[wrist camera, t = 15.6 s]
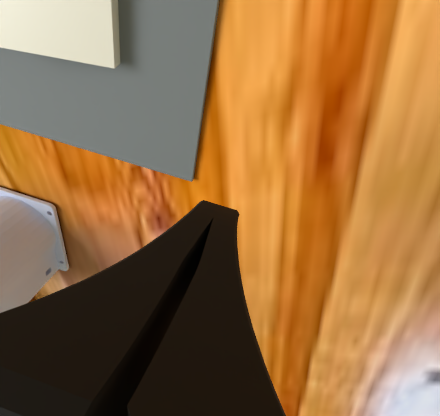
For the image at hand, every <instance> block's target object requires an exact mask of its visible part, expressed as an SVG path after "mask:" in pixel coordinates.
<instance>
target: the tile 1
mask: <svg viewBox="0 0 440 416" xmlns="http://www.w3.org/2000/svg"><path fill="white" fill-rule="evenodd" d="M0 48H6V49H11V50H17V51H22V52H27V53H33V54H38V55H44V56H49V57H55V58H60V59H65V60H71V61H76V62H82V63H87V64H92V65H98V66H103V67H109V68H114V69H115V68H116V67H117V66H118V65H119V64H120V42H119V15H118V0H0Z"/></svg>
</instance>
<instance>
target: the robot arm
mask: <svg viewBox="0 0 440 416" xmlns="http://www.w3.org/2000/svg"><path fill="white" fill-rule="evenodd" d="M238 217H239V213H238V211H237V210H234V209H231V208H227V207H224V206H221V205H217V204H214V203H211V202H208V201H204V200H203V201H201V202H199V203H198V204H197V205H196V206H195V207H194V208H193V209H192V210H191V211H190V212H189V213H188V214H187V215H185V216H184V217H183V218H182V219H181V220H180V221H178V222H177V223H176V224H175V225H173V226H172V227H171V228H169V229H168V230H167V231H166V232H164V233H163V234H162V235H160V236H159V237H157V238H156V239H154V240H153V241H152V242H150V243H149V244H147V245H146V246H144V247H143V248H141V249H140V250H138V251H137V252H135V253H133V254H132V255H130V256H128V257H127V258H125V259H123V260H121V261H120V262H118V263H116V264H114V265H112V266H111V267H109V268H107V269H105V270H103V271H101V272H99V273H97V274H95V275H93V276H91V277H89V278H87V279H85V280H83V281H80V282H78V283H76V284H74V285H71V286H69V287H66V288H64V289H62V290H59V291H57V292H55V293H52V294H50V295H48V296H45V297H43V298H40V299H38V300H35V301H32V302H30V303H28V302H29V301H30V300H31V299H32V298H33V297H34V296H35V295H36V293H37V292H38V291H39V290H40V289H41V288H42V287H43V286H44V285H45V284H46V283H47V282H48V280H49V279H50V278H51V277H52V276H53V275H54V274H55V273H56V272H57V271H58V270H59V269H60V270H63V271H67V270H68V269H69V264H68V260H67V255H66V251H65V247H64V242H63V238H62V233H61V229H60V224H59V220H58V215H57V211H56V207H55V206H54V205H53V204H51V203H48V202H45V201H42V200H39V199H36V198H33V197H30V196H27V195H24V194H20V193H17V192H14V191H11V190H8V189H5V188H2V187H0V416H286V415H285V413H284V410H283V408H282V406H281V403H280V401H279V399H278V396H277V394H276V391H275V389H274V386H273V384H272V381H271V379H270V376H269V373H268V371H267V368H266V366H265V363H264V360H263V357H262V354H261V351H260V348H259V345H258V342H257V339H256V336H255V333H254V330H253V327H252V323H251V319H250V316H249V312H248V308H247V304H246V300H245V296H244V291H243V286H242V280H241V274H240V268H239V260H238V248H237V222H238Z"/></svg>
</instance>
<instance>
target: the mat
mask: <svg viewBox="0 0 440 416" xmlns="http://www.w3.org/2000/svg"><path fill="white" fill-rule="evenodd" d="M219 2H220V0H118V15H119V42H120V64H119V65H118V66H117V67H116V68H115V69H114V68H109V67H103V66H98V65H92V64H87V63H82V62H76V61H71V60H65V59H60V58H55V57H49V56H44V55H38V54H33V53H27V52H22V51H17V50H11V49H6V48H0V124H2V125H5V126H9V127H12V128H15V129H19V130H22V131H25V132H29V133H32V134H35V135H39V136H42V137H45V138H49V139H52V140H55V141H59V142H62V143H65V144H69V145H72V146H75V147H79V148H82V149H85V150H88V151H92V152H95V153H98V154H102V155H105V156H108V157H112V158H115V159H118V160H122V161H125V162H128V163H132V164H135V165H138V166H142V167H145V168H148V169H152V170H155V171H158V172H162V173H165V174H168V175H172V176H175V177H178V178H182V179H185V180H188V181H193V179H194V173H195V166H196V159H197V152H198V145H199V138H200V132H201V125H202V118H203V111H204V104H205V97H206V91H207V84H208V77H209V70H210V63H211V56H212V50H213V43H214V36H215V29H216V22H217V15H218V9H219Z"/></svg>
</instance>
